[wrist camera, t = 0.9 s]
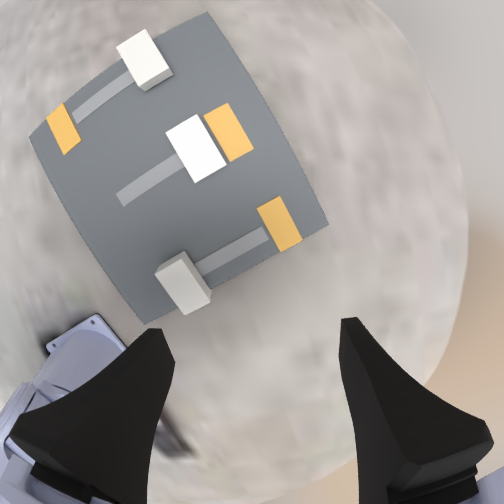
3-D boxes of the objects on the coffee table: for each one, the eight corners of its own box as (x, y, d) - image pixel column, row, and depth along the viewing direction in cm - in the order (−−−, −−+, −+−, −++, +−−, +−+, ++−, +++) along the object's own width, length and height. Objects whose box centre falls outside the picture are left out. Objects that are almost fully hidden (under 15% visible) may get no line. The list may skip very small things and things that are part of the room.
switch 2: (197, 180, 21) (194, 183, 19) (170, 134, 19) (165, 132, 18) (226, 164, 20) (226, 164, 19) (199, 117, 19) (196, 113, 17)
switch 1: (145, 91, 18) (138, 86, 16) (123, 54, 17) (116, 47, 15) (173, 74, 18) (169, 67, 16) (150, 37, 16) (145, 28, 15)
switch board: (146, 318, 25) (144, 325, 24) (34, 136, 19) (27, 137, 18) (325, 221, 24) (329, 225, 23) (208, 16, 18) (207, 10, 16)
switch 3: (187, 304, 24) (184, 315, 22) (159, 265, 22) (154, 274, 21) (211, 291, 23) (210, 302, 22) (184, 250, 22) (181, 258, 20)
